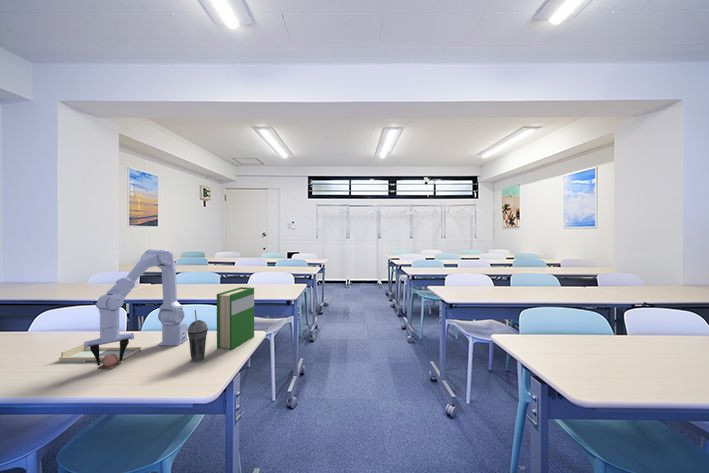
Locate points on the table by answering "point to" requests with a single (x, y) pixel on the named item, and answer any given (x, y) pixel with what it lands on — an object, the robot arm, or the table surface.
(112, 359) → the ball
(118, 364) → the open wooden square ring
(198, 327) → the beverage cup
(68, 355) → the tray
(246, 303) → the hardback book
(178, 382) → the table surface
